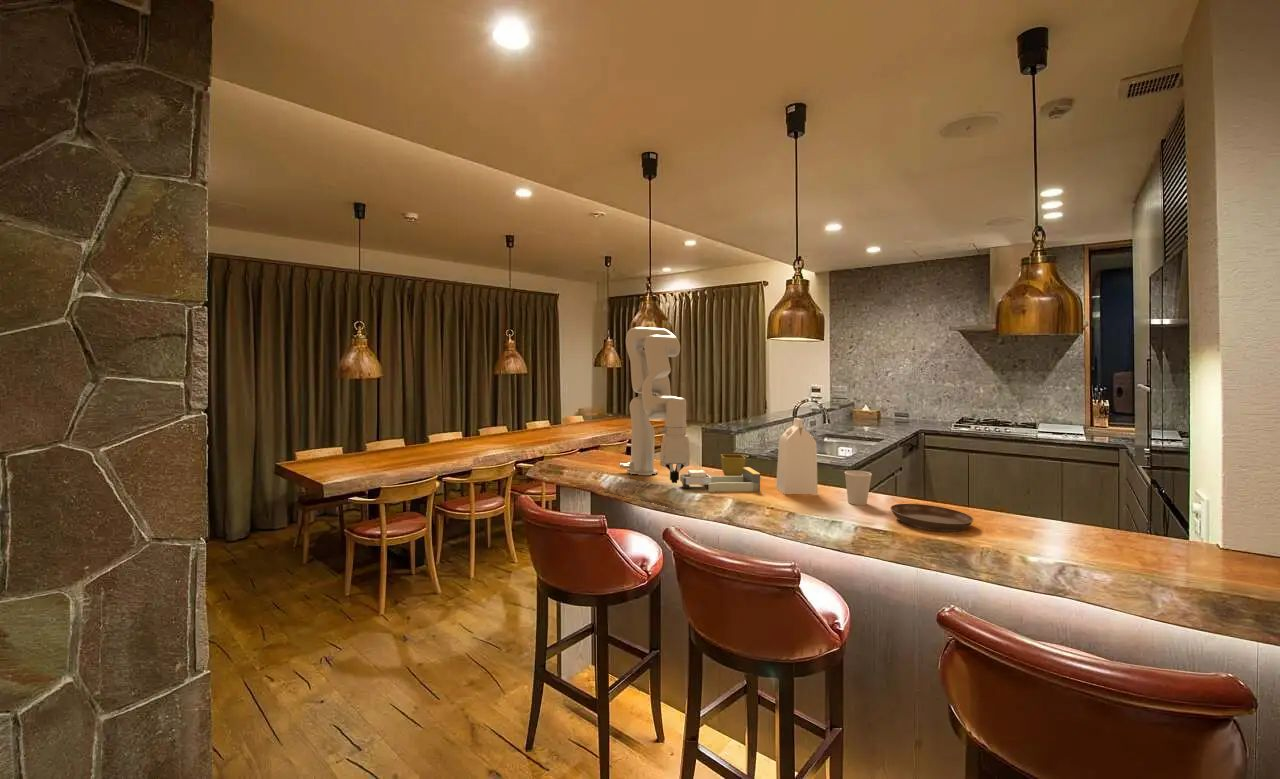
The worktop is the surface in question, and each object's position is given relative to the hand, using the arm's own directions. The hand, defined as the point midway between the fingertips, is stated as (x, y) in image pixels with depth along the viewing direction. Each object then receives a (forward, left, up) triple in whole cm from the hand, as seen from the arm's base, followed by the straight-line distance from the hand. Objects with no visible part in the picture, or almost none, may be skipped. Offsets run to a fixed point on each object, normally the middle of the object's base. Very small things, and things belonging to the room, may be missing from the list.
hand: (674, 482), depth 190 cm
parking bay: (+20, 0, -2) cm, 20 cm away
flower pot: (+26, +17, -2) cm, 31 cm away
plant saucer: (+66, -47, -2) cm, 81 cm away
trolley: (+8, 0, -2) cm, 8 cm away
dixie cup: (+57, -24, -2) cm, 62 cm away
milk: (+43, -6, -2) cm, 44 cm away
